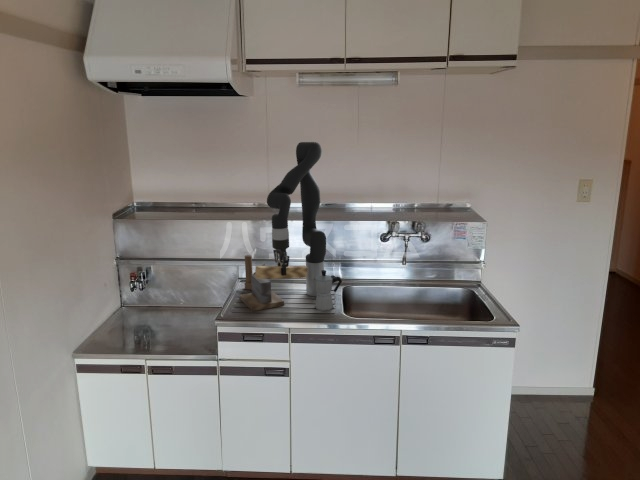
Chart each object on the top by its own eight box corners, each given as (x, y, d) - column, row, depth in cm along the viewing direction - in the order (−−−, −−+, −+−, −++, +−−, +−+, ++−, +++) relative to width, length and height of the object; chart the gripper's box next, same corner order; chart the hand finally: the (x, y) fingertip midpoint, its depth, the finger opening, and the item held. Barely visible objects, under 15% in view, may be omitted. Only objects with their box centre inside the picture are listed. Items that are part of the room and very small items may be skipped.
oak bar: (303, 275, 228) (304, 265, 227) (306, 277, 224) (307, 267, 224) (254, 276, 216) (255, 265, 215) (257, 279, 213) (258, 268, 212)
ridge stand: (270, 293, 247) (269, 270, 244) (284, 305, 231) (283, 281, 228) (240, 298, 240) (238, 275, 237) (251, 311, 224) (250, 286, 221)
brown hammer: (262, 291, 249) (261, 258, 244) (244, 289, 253) (242, 256, 248) (266, 289, 252) (264, 256, 248) (248, 287, 256) (246, 254, 252)
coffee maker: (312, 311, 223) (312, 274, 218) (309, 304, 231) (308, 268, 227) (344, 309, 226) (344, 272, 221) (339, 302, 234) (339, 266, 230)
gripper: (294, 239, 211) (295, 277, 216) (282, 232, 224) (283, 268, 228) (278, 242, 208) (280, 280, 213) (266, 235, 220) (268, 271, 225)
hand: (282, 273), depth 220 cm, fingers closed on oak bar, 3 cm apart
